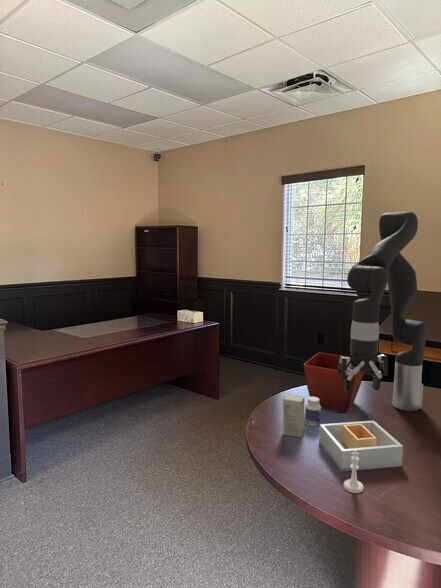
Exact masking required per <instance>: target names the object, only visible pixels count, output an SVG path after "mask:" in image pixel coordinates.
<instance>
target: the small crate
mask: <svg viewBox="0 0 441 588" xmlns="http://www.w3.org/2000/svg"><path fill="white" fill-rule="evenodd" d="M342 444H343V445H344V446H345V448H346V449H352V448H364V447H376V444H377V438H376V437H375V436H374V435H373V434H372V433H371V432H370V431H369V430H367V429H366V428H365V427H364V426H363V425H362V424H353V425H343V435H342Z"/></svg>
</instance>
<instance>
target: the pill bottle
mask: <svg viewBox="0 0 441 588" xmlns="http://www.w3.org/2000/svg"><path fill="white" fill-rule="evenodd" d="M321 414H322V408H321V406H320V405H319V398H317V397H310V396H308V397H307V403H306V404H305V405H304V424H306V425H307V426H309V425H311V426H310V427H318V426H317V425H319V426H320V424H321V420H322V419H321V418H322V415H321Z"/></svg>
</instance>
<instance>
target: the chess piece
mask: <svg viewBox="0 0 441 588" xmlns="http://www.w3.org/2000/svg"><path fill="white" fill-rule="evenodd" d="M356 452H357V451H354V453H352V457H351V461H352V465H350V468H352V471H351V475H350V478H349V479H346V480H344V482H343V488H344V489H345V490H346V491H347V492H350V493H353V494H359V493H362V492H363V491H364V484H363V483H362V482H361V481H360V480H358V474H357V473H358V472H357V471H358V470H357V469H359V467H358V465H357V463H358V461H359V458H358V457H356V455H359V453H356ZM353 455H354V456H353Z"/></svg>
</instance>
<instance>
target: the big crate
mask: <svg viewBox="0 0 441 588" xmlns="http://www.w3.org/2000/svg"><path fill="white" fill-rule="evenodd" d="M353 424H362V425H363V426H364V427H365V428H366V429H367V430H369V431H370V432H371V433H372V434H373V435H374V436H375V437H376V438H377V444H376V447H364V448H352V449H346V448H345V446H344V445H343V444H342V435H343V425H353ZM318 429H319V432H318V433H319V434H318V443H319V444H320V446H321V447H322V448H323V450H324V451H325V452H326V453H327V455H328V456H329V457H330V459H331V460H332V461H333V463H334V464H335V465H336V466H337V468H338V469H339V471H340V472H343V473H344V472H352V468H350V465H352V461H351V457H352V453H354V451H357V452H356V453H359V455H356V457H358V458H359V461H358V463H357V465H358V467H359V469H357V470H356V471H362V470H363V471H364V470H373V469H384V468H394V467H395V468H396V467H402V466H403V454H404V446H403V444H402V443H400V442H399V441H398V440H397V439H396V438H395V437H394V436H392V435H391V434H390V433H389V432H388V431H386V430H385V428H383V427H382V426H381V425H379V424H378V423H377V422H376V421H375V420H363V421H350V422H337V423H336V422H335V423H320V425H319V428H318ZM353 456H354V455H353Z"/></svg>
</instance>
